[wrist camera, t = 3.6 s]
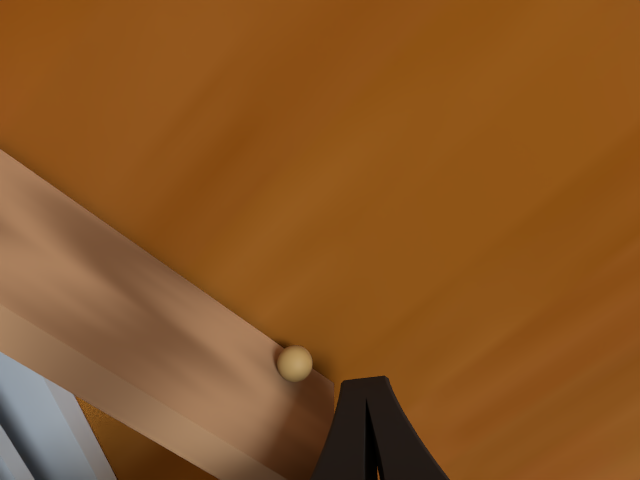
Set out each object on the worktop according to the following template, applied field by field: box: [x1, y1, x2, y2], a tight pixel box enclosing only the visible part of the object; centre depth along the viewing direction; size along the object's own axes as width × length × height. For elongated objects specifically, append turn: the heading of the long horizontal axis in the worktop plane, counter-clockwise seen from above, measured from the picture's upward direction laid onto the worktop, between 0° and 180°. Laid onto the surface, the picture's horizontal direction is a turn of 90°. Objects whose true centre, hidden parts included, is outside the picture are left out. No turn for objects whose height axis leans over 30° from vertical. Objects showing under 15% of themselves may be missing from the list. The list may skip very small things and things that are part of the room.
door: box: [0, 149, 334, 480], centre depth 11 cm, size 15×2×5 cm, turn 50°
